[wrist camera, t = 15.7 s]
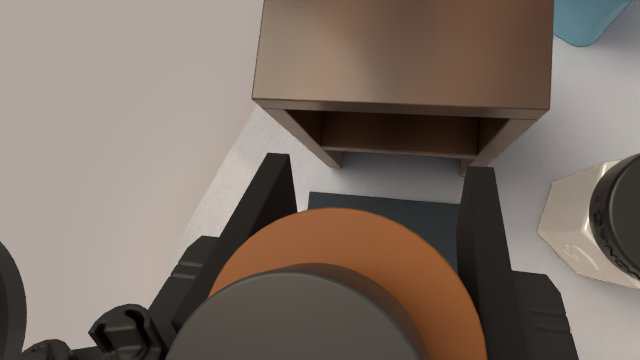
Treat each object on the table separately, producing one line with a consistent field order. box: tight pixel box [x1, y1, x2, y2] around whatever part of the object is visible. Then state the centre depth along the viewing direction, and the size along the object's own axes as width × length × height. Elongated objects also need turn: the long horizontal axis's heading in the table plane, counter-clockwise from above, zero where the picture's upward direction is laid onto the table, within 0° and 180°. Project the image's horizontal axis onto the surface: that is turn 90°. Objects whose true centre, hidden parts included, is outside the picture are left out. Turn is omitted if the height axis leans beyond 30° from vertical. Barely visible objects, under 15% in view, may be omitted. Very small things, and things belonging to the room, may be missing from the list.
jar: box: [537, 153, 640, 289], centre depth 28 cm, size 9×8×12 cm
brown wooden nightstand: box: [252, 0, 554, 177], centre depth 28 cm, size 13×10×20 cm
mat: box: [308, 192, 460, 275], centre depth 36 cm, size 16×11×1 cm
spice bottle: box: [165, 207, 487, 360], centre depth 10 cm, size 6×6×11 cm
